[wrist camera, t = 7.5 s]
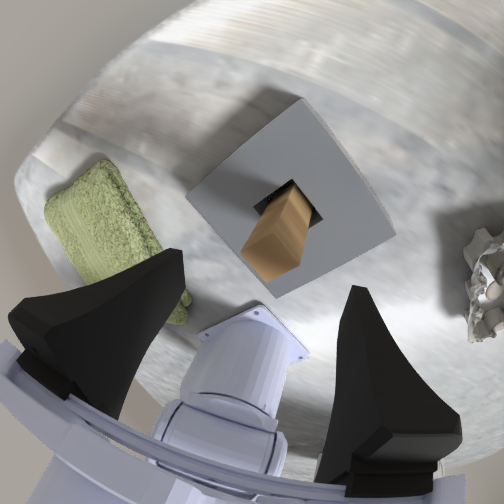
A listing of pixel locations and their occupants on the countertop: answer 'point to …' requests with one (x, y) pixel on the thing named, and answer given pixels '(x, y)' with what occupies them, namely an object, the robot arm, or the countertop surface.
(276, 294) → the charcoal socket block
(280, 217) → the oak peg
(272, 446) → the robot arm
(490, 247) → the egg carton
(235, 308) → the countertop surface
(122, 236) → the washcloth
